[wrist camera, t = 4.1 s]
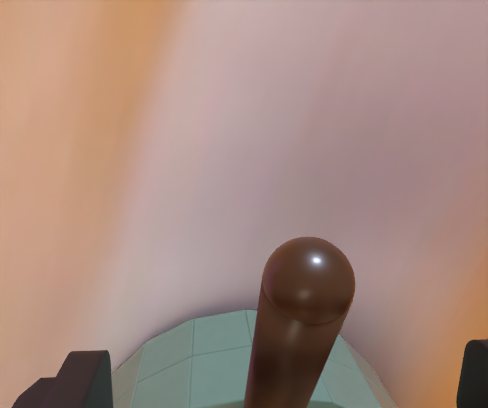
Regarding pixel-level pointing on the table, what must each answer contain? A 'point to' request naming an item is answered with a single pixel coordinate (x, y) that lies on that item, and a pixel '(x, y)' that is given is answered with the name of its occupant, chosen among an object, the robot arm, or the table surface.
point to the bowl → (230, 369)
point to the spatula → (297, 321)
